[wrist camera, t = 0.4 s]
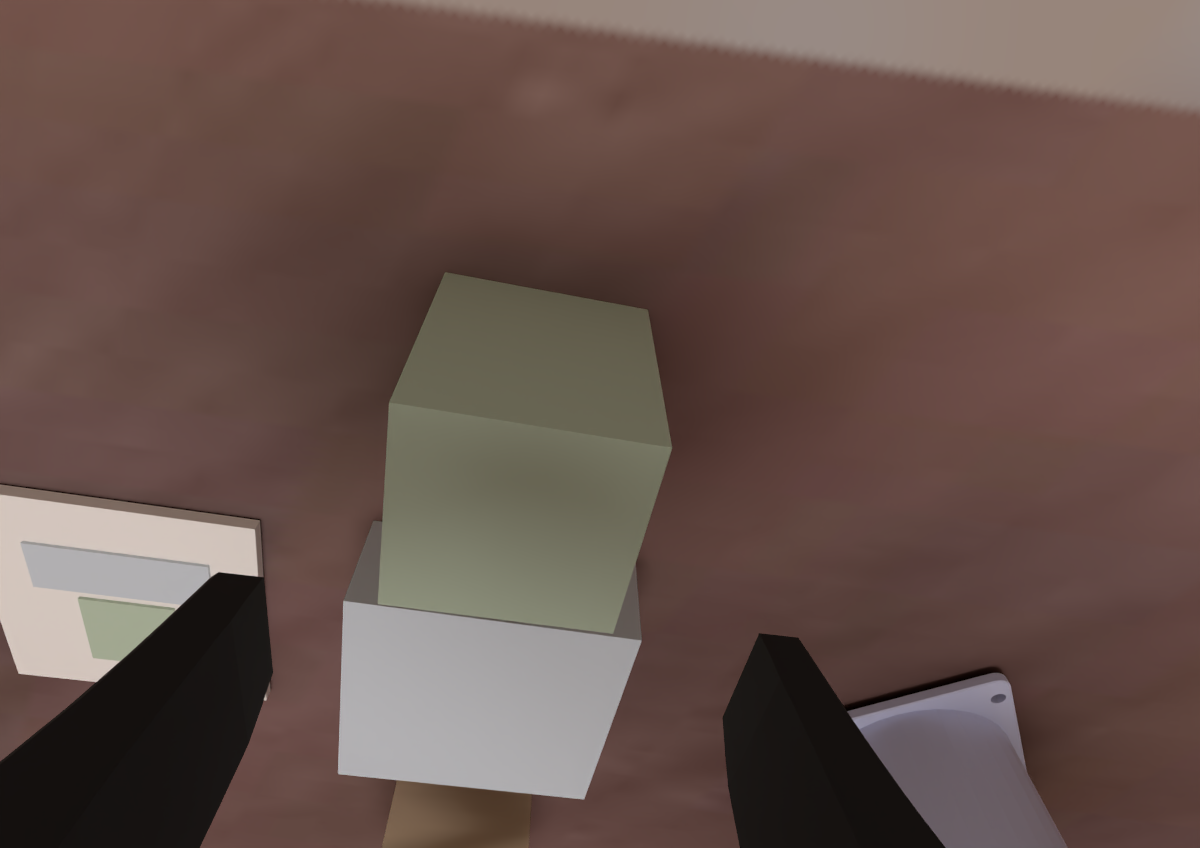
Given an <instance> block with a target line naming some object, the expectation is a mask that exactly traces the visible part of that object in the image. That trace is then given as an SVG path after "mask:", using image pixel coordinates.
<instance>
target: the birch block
mask: <svg viewBox="0 0 1200 848" xmlns="http://www.w3.org/2000/svg"><path fill="white" fill-rule="evenodd" d="M531 801H532V794H527V793H517V792H507V791H498V790H488V789H478V788H468V787H459V786H449V785H439V784H430V783H420V782H410V781H400V780H397V782H396V787H395V791H394V796H393V800H392V804H391V809H390V813H389V818H388V822H387V827H386V831H385V836H384V840H383V845H382V848H529V834H530V818H531Z"/></svg>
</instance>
